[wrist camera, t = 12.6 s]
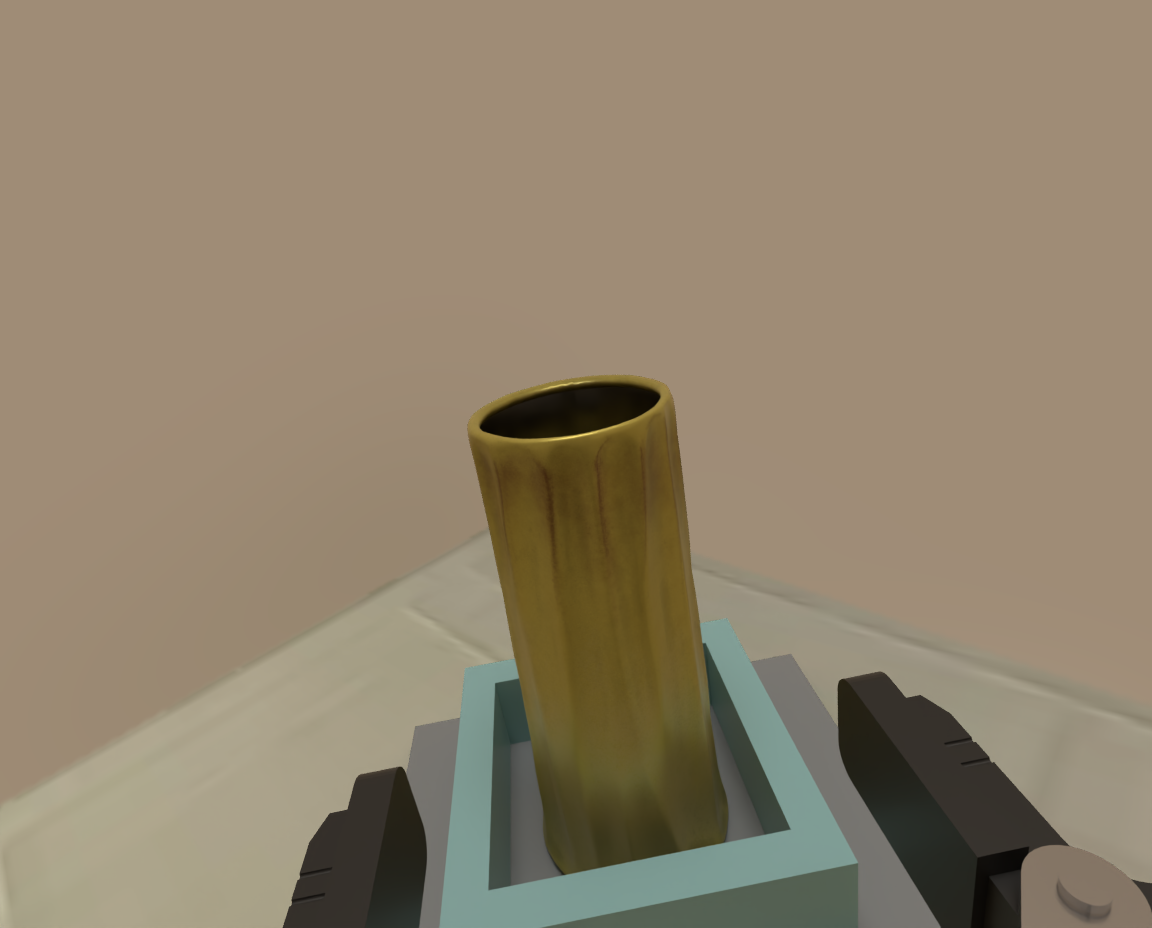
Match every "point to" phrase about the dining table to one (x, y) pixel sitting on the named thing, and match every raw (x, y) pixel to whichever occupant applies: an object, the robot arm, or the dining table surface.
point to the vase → (603, 616)
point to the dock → (674, 881)
